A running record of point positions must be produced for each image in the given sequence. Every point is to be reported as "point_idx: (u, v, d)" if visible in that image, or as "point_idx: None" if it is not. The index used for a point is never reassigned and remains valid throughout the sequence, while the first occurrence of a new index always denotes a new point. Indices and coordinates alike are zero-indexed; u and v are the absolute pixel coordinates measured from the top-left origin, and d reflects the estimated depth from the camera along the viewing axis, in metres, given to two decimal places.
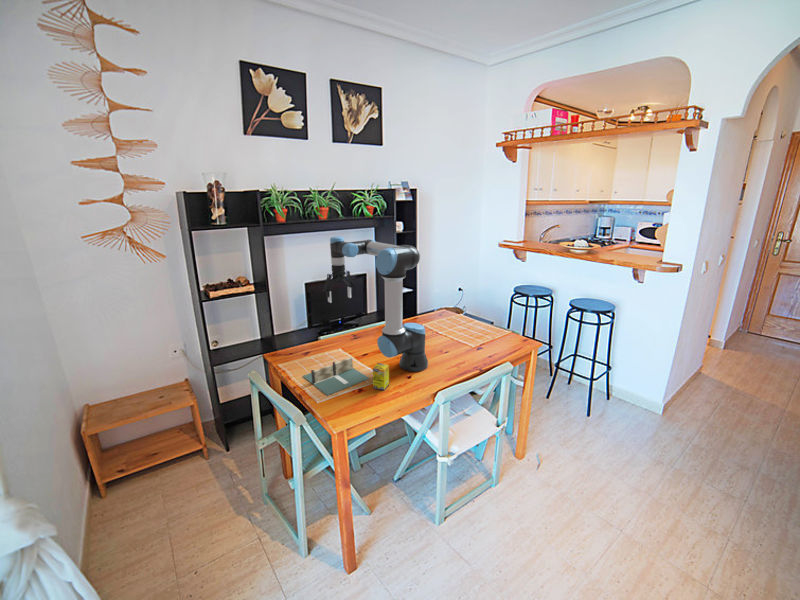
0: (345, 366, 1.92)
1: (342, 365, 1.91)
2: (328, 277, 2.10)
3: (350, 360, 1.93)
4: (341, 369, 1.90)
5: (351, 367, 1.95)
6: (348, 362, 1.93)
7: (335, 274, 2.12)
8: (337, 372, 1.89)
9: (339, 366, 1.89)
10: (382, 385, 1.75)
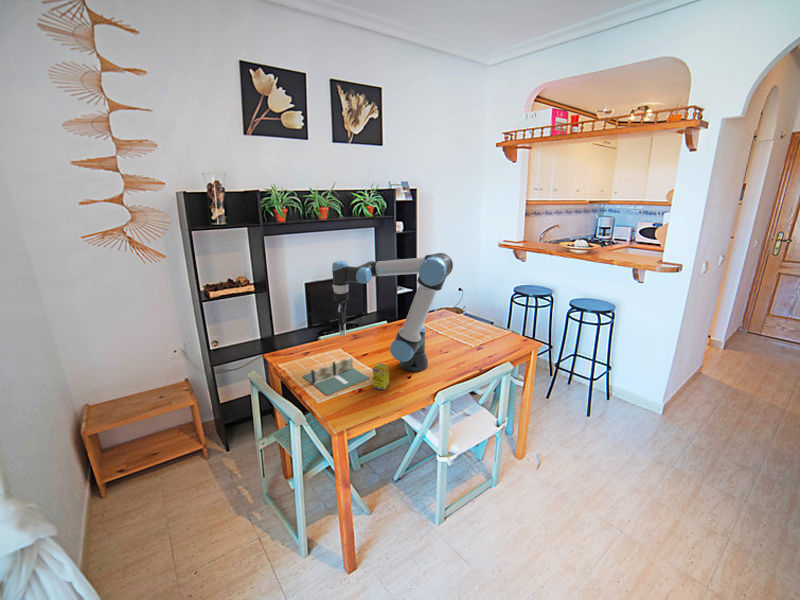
0: (345, 366, 1.92)
1: (342, 365, 1.91)
2: (340, 312, 1.86)
3: (350, 360, 1.93)
4: (341, 369, 1.90)
5: (351, 367, 1.95)
6: (348, 362, 1.93)
7: (342, 303, 1.87)
8: (337, 372, 1.89)
9: (339, 366, 1.89)
10: (382, 385, 1.75)
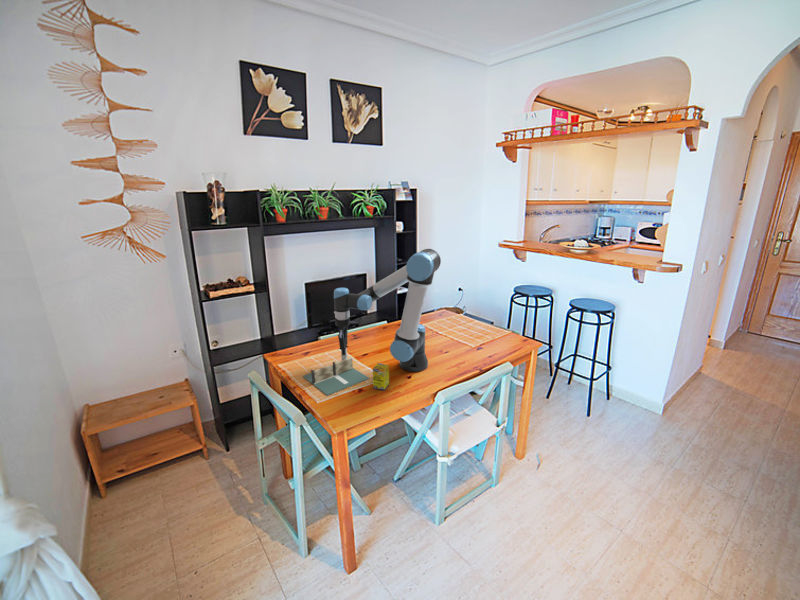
0: (345, 366, 1.92)
1: (342, 365, 1.91)
2: (341, 338, 1.90)
3: (350, 360, 1.93)
4: (341, 369, 1.90)
5: (351, 367, 1.95)
6: (348, 362, 1.93)
7: (343, 329, 1.91)
8: (337, 372, 1.89)
9: (339, 366, 1.89)
10: (382, 385, 1.75)
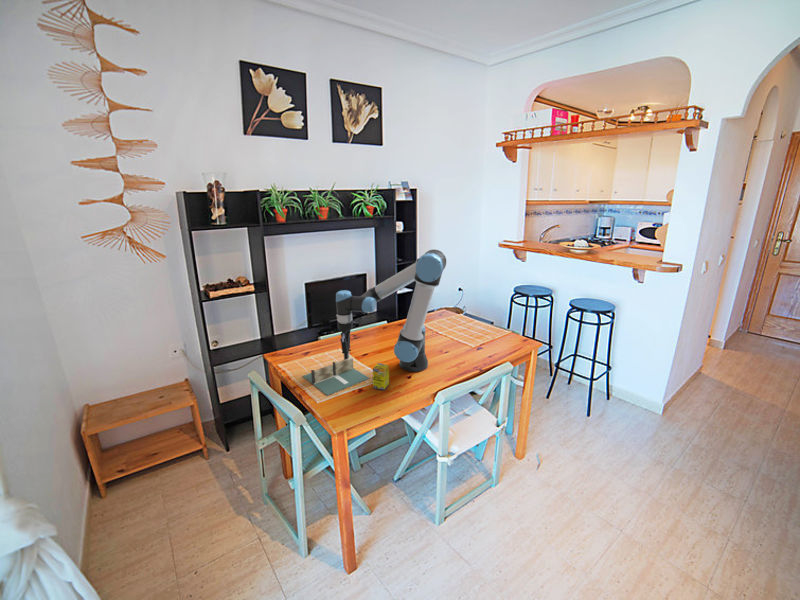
0: (345, 367, 1.92)
1: (343, 365, 1.90)
2: (343, 341, 1.86)
3: (350, 360, 1.93)
4: (341, 369, 1.90)
5: (351, 367, 1.94)
6: (349, 362, 1.92)
7: (346, 333, 1.87)
8: (336, 372, 1.89)
9: (339, 366, 1.89)
10: (382, 385, 1.75)
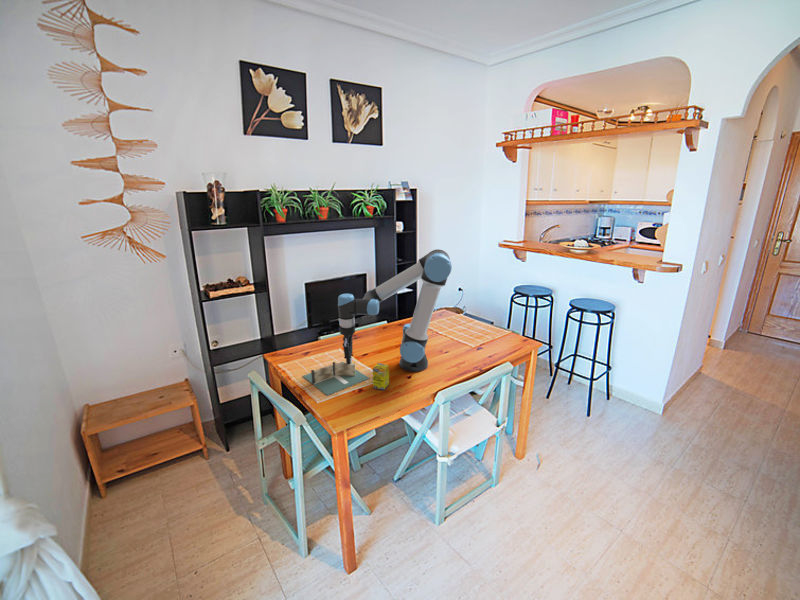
0: (346, 370, 1.88)
1: (343, 368, 1.87)
2: (346, 346, 1.80)
3: (352, 366, 1.87)
4: (341, 371, 1.88)
5: (353, 373, 1.88)
6: (350, 367, 1.87)
7: (348, 337, 1.81)
8: (336, 373, 1.88)
9: (339, 368, 1.87)
10: (382, 385, 1.75)
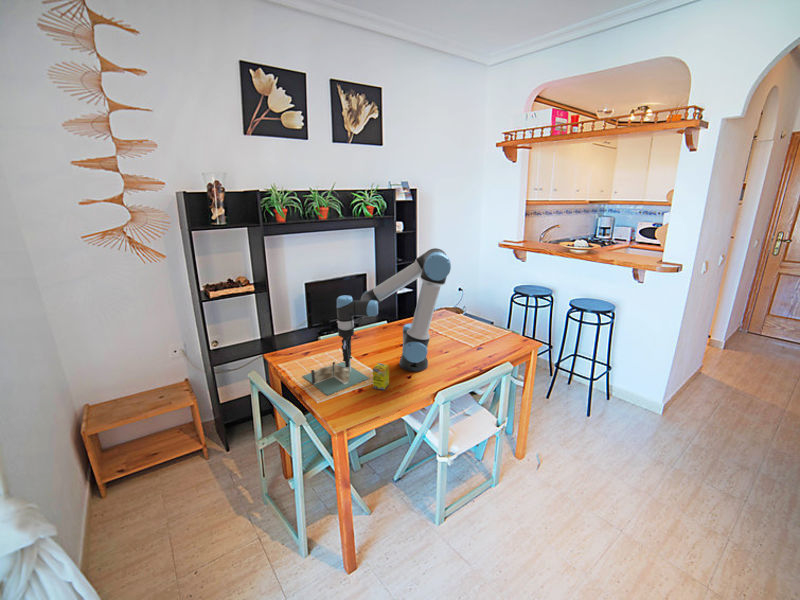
0: (341, 374, 1.84)
1: (339, 371, 1.85)
2: (345, 349, 1.78)
3: (345, 372, 1.81)
4: (337, 373, 1.86)
5: (346, 379, 1.82)
6: (343, 372, 1.82)
7: (347, 340, 1.79)
8: (334, 374, 1.88)
9: (336, 369, 1.86)
10: (382, 385, 1.75)
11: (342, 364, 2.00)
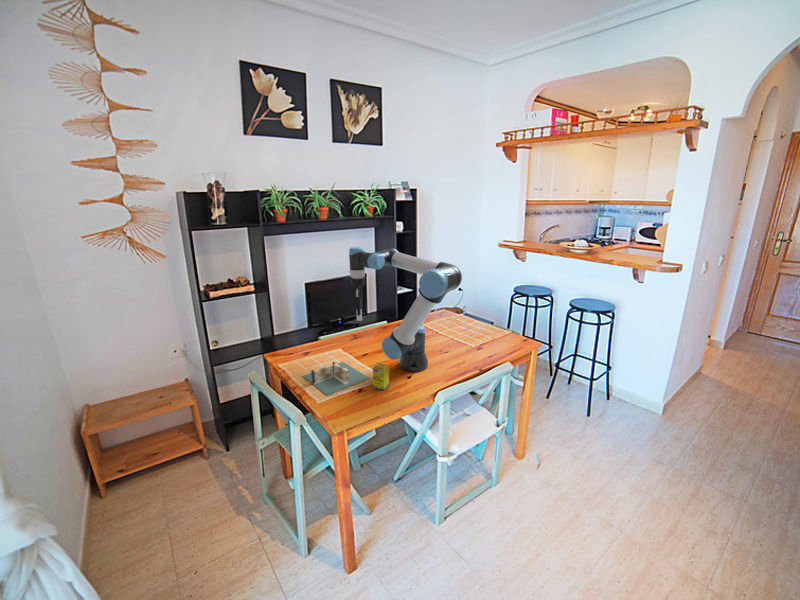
0: (341, 374, 1.84)
1: (339, 371, 1.85)
2: (357, 296, 1.89)
3: (345, 372, 1.81)
4: (337, 373, 1.86)
5: (346, 379, 1.82)
6: (343, 372, 1.82)
7: (359, 288, 1.91)
8: (334, 374, 1.88)
9: (336, 369, 1.86)
10: (382, 385, 1.75)
11: (342, 364, 2.00)
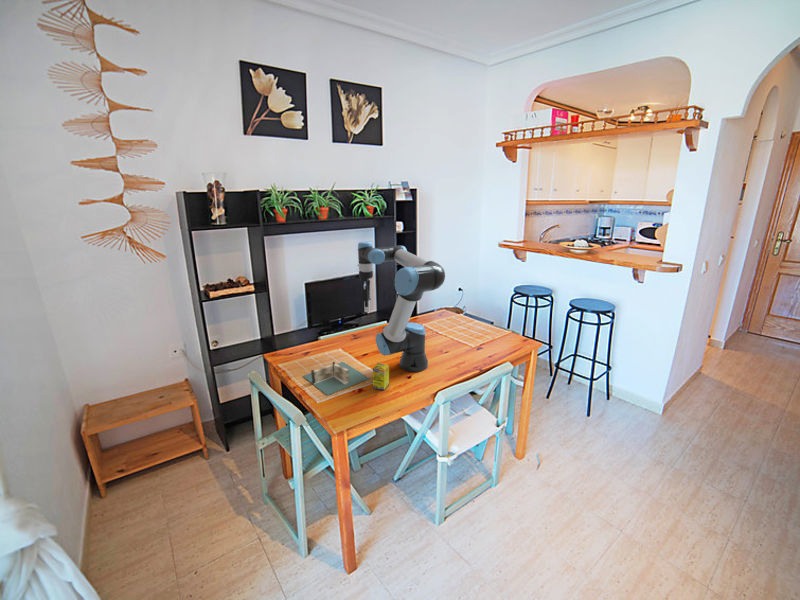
0: (341, 374, 1.84)
1: (339, 371, 1.85)
2: (365, 289, 2.00)
3: (345, 372, 1.81)
4: (337, 373, 1.86)
5: (346, 379, 1.82)
6: (343, 372, 1.82)
7: (367, 281, 2.01)
8: (334, 374, 1.88)
9: (336, 369, 1.86)
10: (382, 385, 1.75)
11: (342, 364, 2.00)
